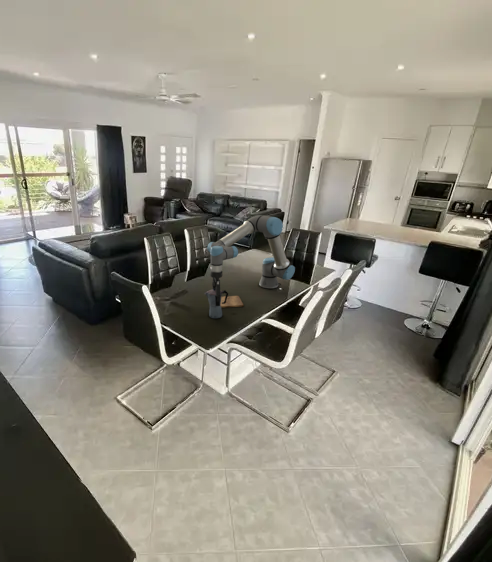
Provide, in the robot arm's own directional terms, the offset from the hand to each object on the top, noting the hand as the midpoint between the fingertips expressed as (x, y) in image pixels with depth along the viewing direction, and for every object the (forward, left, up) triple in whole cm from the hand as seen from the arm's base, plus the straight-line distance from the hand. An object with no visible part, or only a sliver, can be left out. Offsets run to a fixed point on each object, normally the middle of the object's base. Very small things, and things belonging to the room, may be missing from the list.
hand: (216, 301), depth 210 cm
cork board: (-12, -19, -11) cm, 25 cm away
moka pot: (0, 0, -11) cm, 11 cm away
